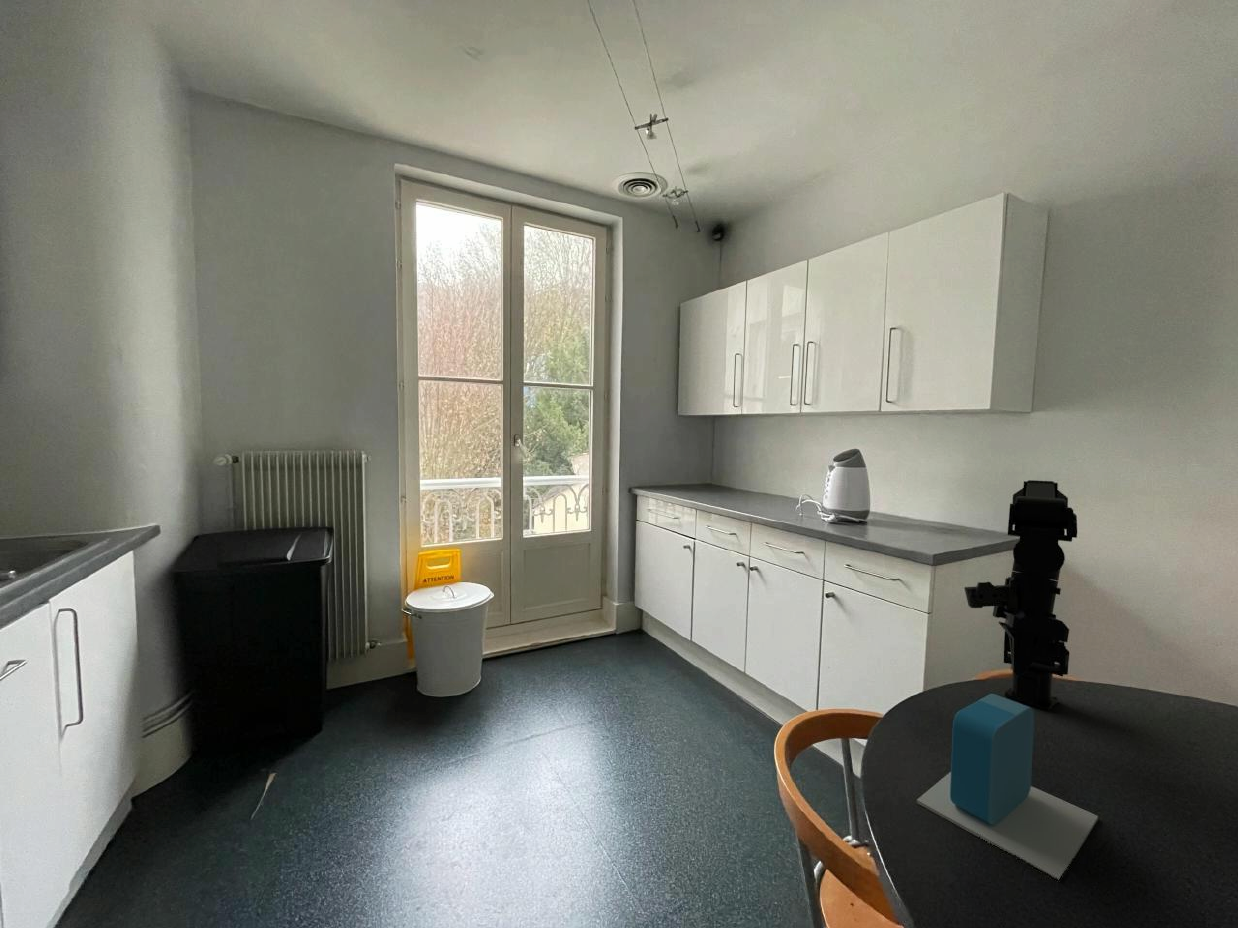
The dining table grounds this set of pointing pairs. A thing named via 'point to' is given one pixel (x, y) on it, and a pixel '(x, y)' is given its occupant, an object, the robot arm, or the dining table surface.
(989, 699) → the blue rounded flat block
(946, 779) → the mat
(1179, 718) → the dining table surface
